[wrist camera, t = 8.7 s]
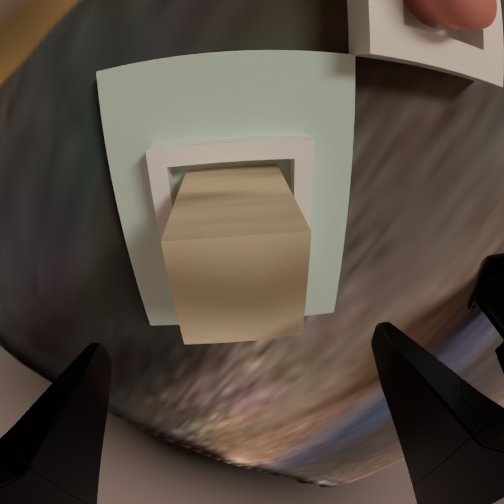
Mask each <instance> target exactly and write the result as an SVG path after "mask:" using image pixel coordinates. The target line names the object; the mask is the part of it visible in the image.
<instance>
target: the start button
mask: <svg viewBox="0 0 504 504" xmlns="http://www.w3.org/2000/svg"><path fill="white" fill-rule="evenodd" d="M403 1H404V3H405V5H406V6H407V8H408V9H409V11H410V12H411V13H412V14H413V15H414V16H415V17H416V18H417V19H418V20H419V21H421V22H422V23H423V24H425V25H427V26H429V27H431V28H434V29H437V30H452V29H484V28H487V27H489V26H490V25H491V24H492V23H493V21H494V20H495V17H496V13H497V1H496V0H403Z"/></svg>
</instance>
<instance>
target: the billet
mask: <svg viewBox="0 0 504 504" xmlns="http://www.w3.org/2000/svg"><path fill="white" fill-rule="evenodd" d="M310 244H311V230H310V228H309V226H308V224H307V222H306V220H305V218H304V216H303V214H302V212H301V210H300V208H299V206H298V204H297V202H296V200H295V198H294V196H293V194H292V192H291V190H290V188H289V186H288V184H287V182H286V180H285V178H284V177H283V175H282V173H281V171H280V169H279V167H278V165H277V164H268V165H247V166H230V167H216V168H203V169H191V170H187V171H186V174H185V176H184V179H183V181H182V184H181V186H180V189H179V192H178V194H177V197H176V200H175V202H174V205H173V208H172V211H171V213H170V216H169V219H168V222H167V224H166V227H165V230H164V233H163V236H162V239H161V247H162V251H163V256H164V261H165V266H166V270H167V275H168V279H169V284H170V288H171V293H172V297H173V301H174V305H175V309H176V313H177V317H178V321H179V325H180V329H181V333H182V337H183V341H184V344H206V343H225V342H241V341H255V340H268V339H279V338H289V337H299V336H302V334H303V325H304V315H305V305H306V294H307V282H308V270H309V258H310Z"/></svg>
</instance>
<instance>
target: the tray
mask: <svg viewBox="0 0 504 504" xmlns="http://www.w3.org/2000/svg"><path fill="white" fill-rule="evenodd" d="M96 75H97V86H98V95H99V104H100V112H101V119H102V126H103V133H104V139H105V146H106V152H107V157H108V163H109V168H110V174H111V179H112V184H113V189H114V194H115V198H116V203H117V207H118V212H119V216H120V221H121V225H122V229H123V233H124V237H125V241H126V245H127V249H128V252H129V256H130V260H131V264H132V267H133V271H134V274H135V278H136V281H137V284H138V288H139V291H140V294H141V298H142V301H143V304H144V307H145V310H146V314H147V317H148V320H149V323H150V326H151V325H179V321H178V317H177V313H176V309H175V305H174V301H173V297H172V293H171V288H170V284H169V279H168V275H167V270H166V266H165V261H164V256H163V251H162V247H161V239H162V236H163V233H164V230H165V227H166V224H167V222H168V219H169V216H170V213H171V211H172V208H173V205H174V202H175V200H176V197H177V194H178V192H179V189H180V186H181V184H182V181H183V179H184V176H185V174H186V171H187V170H191V169H203V168H216V167H230V166H247V165H268V164H277V165H278V167H279V169H280V171H281V173H282V175H283V177H284V178H285V180H286V182H287V184H288V186H289V188H290V190H291V192H292V194H293V196H294V198H295V200H296V202H297V204H298V206H299V208H300V210H301V212H302V214H303V216H304V218H305V220H306V222H307V224H308V226H309V228H310V230H311V244H310V258H309V270H308V282H307V294H306V305H305V315H304V316H306V315H316V314H325V313H334V308H335V302H336V296H337V290H338V283H339V276H340V269H341V262H342V255H343V247H344V239H345V231H346V222H347V213H348V203H349V192H350V181H351V168H352V154H353V136H354V114H355V55H352V54H342V53H331V52H318V51H297V50H247V51H226V52H213V53H201V54H192V55H183V56H175V57H168V58H162V59H155V60H149V61H144V62H138V63H133V64H128V65H123V66H119V67H114V68H110V69H106V70H101V71H97V72H96Z"/></svg>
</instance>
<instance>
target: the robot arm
mask: <svg viewBox="0 0 504 504" xmlns="http://www.w3.org/2000/svg"><path fill="white" fill-rule="evenodd" d="M468 308H469V310H470V311H474V310H478V309H481V310H482V311H483V312H484V314H485V315H486V316H487V318H488V319H489V320H490V322H491V323H492V324H493V326H494V327H495V328H496V330H497V331H498V332H499V334H500V335H501V337H502V338H503V339H504V254H498V255H491V256H489V257H488V258H487V261H486V263H485V266H484V269H483V271H482V274H481V277H480V279H479V282H478V284H477V287H476V289H475V292H474V294H473V296H472V299H471V301H470V303H469V306H468ZM371 344H372V350H373V354H374V358H375V362H376V366H377V370H378V375H379V379H380V383H381V387H382V390H383V393H384V395H385V398H386V401H387V404H388V407H389V410H390V413H391V416H392V419H393V422H394V425H395V428H396V431H397V435H398V438H399V441H400V444H401V447H402V451H403V454H404V457H405V461H406V464H407V467H408V470H409V474H410V478H411V481H412V485H413V489H414V493H415V497H416V500H417V504H504V408H503V407H501V406H500V405H498V404H497V403H495V402H494V401H492V400H491V399H489V398H488V397H486V396H485V395H483V394H482V393H480V392H479V391H478V390H476V389H475V388H474V387H472V386H471V385H470V384H469V383H467V382H466V381H465V380H464V379H461V377H460V376H458V375H457V374H456V373H455V372H453V371H452V370H451V369H449V368H448V367H447V366H446V365H444V364H443V363H442V362H441V361H439V360H438V359H437V358H435V357H434V356H433V355H432V354H430V353H429V352H428V351H426V350H425V349H424V348H422V347H421V346H420V345H419V344H417V343H416V342H415V341H413V340H412V339H411V338H409V337H408V336H407V335H406V334H404V333H403V332H402V331H400V330H399V329H398V328H396V327H395V326H394V325H392V324H391V323H389V322H383V323H378V324H377V325H376V328H375V331H374V334H373V337H372V342H371ZM495 352H496V354H497V358H498V360H499V363H500V365H501V368H502V370H503V373H504V341H503V342H502V344H501V345H500V346H498V347H497V349H496V350H495ZM111 365H112V364H111V359H110V357H109V355H108V353H107V351H106V349H105V347H104V345H103V344H102V343H91V344H89V345H88V346H87V347H86V348H85V349H84V350H83V352H82V353H81V354H80V355H79V356H78V357H77V358H76V359H75V360H74V361H73V362H72V363H71V364H70V365H69V366H68V367H67V368H66V369H65V370H64V371H63V372H62V374H61V375H60V376H59V377H58V378H57V379H56V380H55V381H54V382H53V383H52V384H51V385H50V386H49V388H48V389H47V390H46V391H45V392H44V393H43V394H42V395H41V396H40V397H39V398H38V399H37V401H36V402H35V403H34V404H33V405H32V406H31V407H30V409H29V410H28V411H27V412H26V413H25V414H24V415H23V416H22V417H21V418H20V420H19V421H17V423H16V424H15V425H14V426H13V427H12V428H11V429H10V430H9V431H8V432H7V433H6V434H5V435H3V436H2V437H1V438H0V504H97V493H98V482H99V471H100V462H101V454H102V446H103V439H104V432H105V424H106V418H107V412H108V405H109V393H110V378H111Z"/></svg>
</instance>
